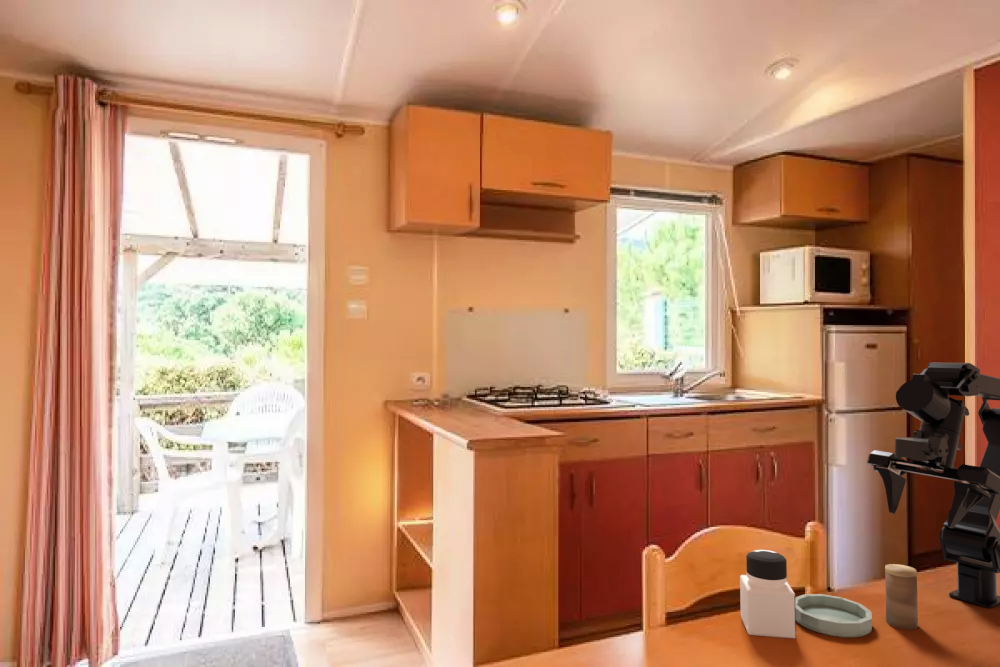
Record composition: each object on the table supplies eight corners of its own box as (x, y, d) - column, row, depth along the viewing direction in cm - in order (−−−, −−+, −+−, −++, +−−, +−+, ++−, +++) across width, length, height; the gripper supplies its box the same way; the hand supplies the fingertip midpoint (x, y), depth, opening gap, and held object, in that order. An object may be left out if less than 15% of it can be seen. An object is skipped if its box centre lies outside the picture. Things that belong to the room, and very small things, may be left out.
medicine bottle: (796, 639, 98) (795, 562, 99) (748, 635, 100) (747, 559, 100) (785, 620, 105) (784, 547, 106) (740, 616, 107) (739, 545, 107)
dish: (819, 601, 113) (819, 589, 113) (886, 626, 103) (886, 612, 103) (777, 616, 107) (777, 603, 107) (844, 643, 97) (844, 629, 97)
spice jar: (895, 616, 107) (894, 562, 107) (923, 625, 103) (922, 570, 103) (880, 621, 104) (879, 567, 105) (908, 632, 101) (907, 575, 101)
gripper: (860, 409, 113) (838, 494, 110) (979, 422, 96) (957, 521, 93) (893, 430, 118) (874, 511, 115) (1012, 445, 101) (993, 540, 98)
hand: (919, 520), depth 105 cm, fingers open, 9 cm apart
